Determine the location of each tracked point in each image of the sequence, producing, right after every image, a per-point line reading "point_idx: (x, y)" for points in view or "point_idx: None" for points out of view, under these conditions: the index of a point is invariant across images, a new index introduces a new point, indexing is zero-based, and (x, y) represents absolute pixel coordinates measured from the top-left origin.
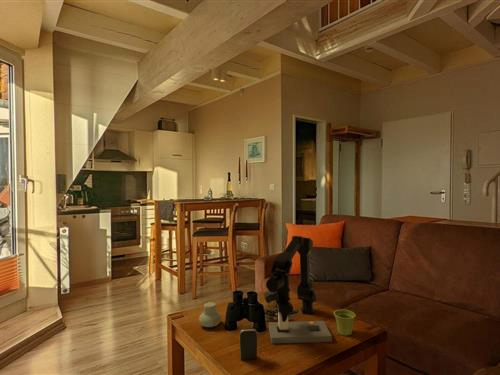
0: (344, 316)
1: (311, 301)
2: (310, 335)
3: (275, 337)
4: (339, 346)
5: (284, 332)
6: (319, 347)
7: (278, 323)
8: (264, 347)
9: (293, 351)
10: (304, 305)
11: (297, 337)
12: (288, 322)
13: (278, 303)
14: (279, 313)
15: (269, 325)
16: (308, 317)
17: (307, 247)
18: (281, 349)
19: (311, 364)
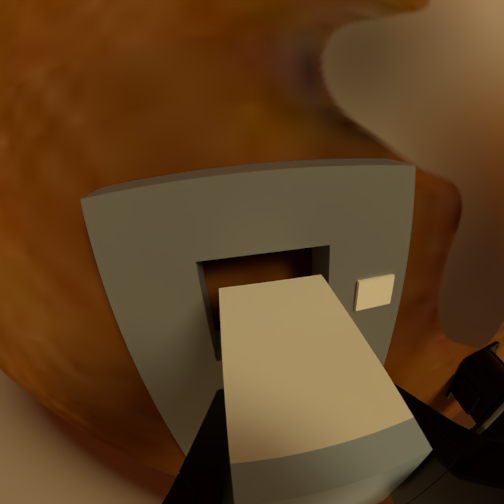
0: None
1: (475, 427)
2: (190, 441)
3: (91, 239)
4: (173, 468)
5: (205, 320)
6: (142, 431)
7: (320, 288)
8: (46, 136)
9: (57, 334)
10: (486, 385)
11: (151, 392)
12: (382, 337)
13: (479, 499)
14: (232, 473)
15: (356, 168)
16: (431, 383)
17: None
18: (49, 267)
19: (12, 380)
